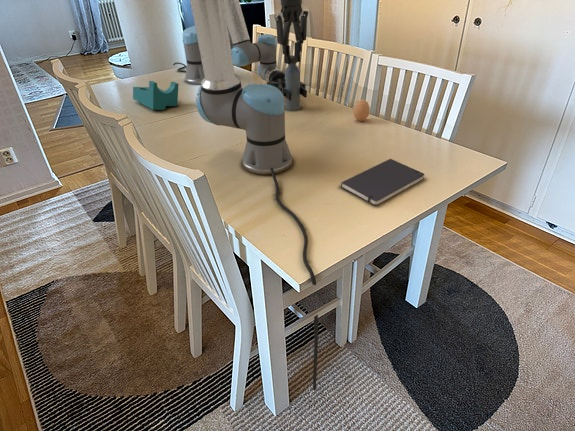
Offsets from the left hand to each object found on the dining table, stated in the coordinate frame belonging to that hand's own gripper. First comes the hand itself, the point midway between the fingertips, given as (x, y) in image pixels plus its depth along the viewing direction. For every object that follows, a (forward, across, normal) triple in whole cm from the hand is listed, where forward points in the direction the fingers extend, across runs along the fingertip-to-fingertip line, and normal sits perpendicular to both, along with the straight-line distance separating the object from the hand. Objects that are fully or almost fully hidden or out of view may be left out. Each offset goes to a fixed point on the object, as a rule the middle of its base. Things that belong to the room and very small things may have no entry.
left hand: (298, 95), depth 156 cm
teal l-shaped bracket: (-35, +50, -7) cm, 61 cm away
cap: (-5, 0, +13) cm, 14 cm away
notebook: (+60, 0, -7) cm, 60 cm away
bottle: (-5, 0, -7) cm, 9 cm away
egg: (+18, -18, -7) cm, 26 cm away
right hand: (-5, 0, +11) cm, 12 cm away
